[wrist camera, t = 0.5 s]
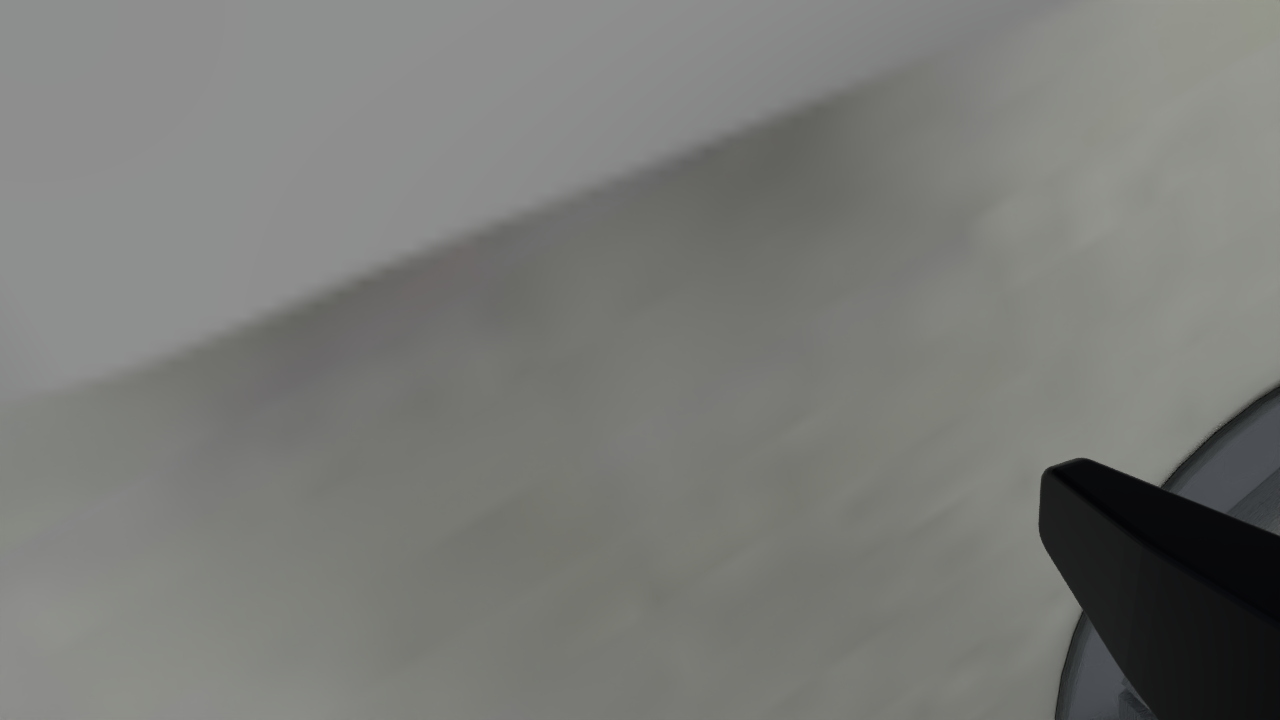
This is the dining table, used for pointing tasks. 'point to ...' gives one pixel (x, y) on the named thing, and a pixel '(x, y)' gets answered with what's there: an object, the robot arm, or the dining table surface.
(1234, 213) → the dining table surface
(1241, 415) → the grey round dish
